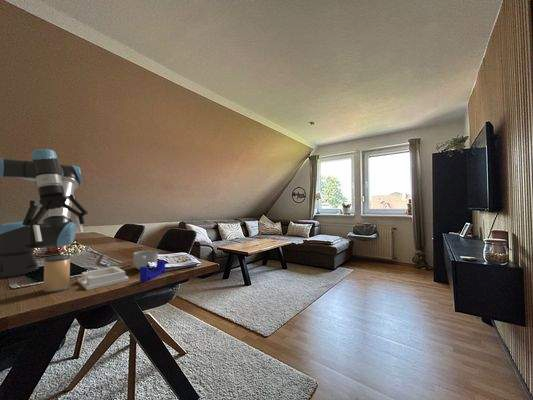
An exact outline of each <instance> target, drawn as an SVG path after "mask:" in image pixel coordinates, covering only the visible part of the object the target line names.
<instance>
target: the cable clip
mask: <svg viewBox="0 0 533 400" xmlns="http://www.w3.org/2000/svg"><path fill="white" fill-rule="evenodd" d="M155 267H156V268H154V267H153V269H152V268H151V269H149V267H146V266H142V267H140V270H139V271H140V273H139V281H141V282H142V283H143V282H144V283H147V282H150V281H151V280H154V279H155V277H156V278H158V277H160V276H162V275H163V274H162V273H164V272H165V273H166V260H162V259H160V260H157V263H156V265H155ZM165 273H164V274H165ZM161 274H162V275H161ZM159 275H160V276H159ZM157 276H158V277H157ZM153 278H154V279H153Z"/></svg>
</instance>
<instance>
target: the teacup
mask: <svg viewBox="0 0 533 400" xmlns="http://www.w3.org/2000/svg"><path fill="white" fill-rule="evenodd" d="M158 254H159V252H158V251H157V250H155V251H154V250H140V251H135V252H133V257H132V258H133V259H132V264H133V267H134V268H136V269H137V270H139V271H140V267H142V266H147V263H148V262H151V263H152V262H157V261H158V256H159V255H158Z"/></svg>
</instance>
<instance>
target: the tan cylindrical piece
mask: <svg viewBox="0 0 533 400" xmlns="http://www.w3.org/2000/svg"><path fill="white" fill-rule="evenodd" d="M43 262H44V263H43V293H44V294H49V295H50V294H56V293H61V292H64V291H67V290H69V289H70V276H71V271H70V270H71V254H70V255H69V254H63V255H62V254H60V255H52V256H51V255H50V256H47V257H44V259H43Z"/></svg>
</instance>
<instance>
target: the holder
mask: <svg viewBox="0 0 533 400" xmlns="http://www.w3.org/2000/svg"><path fill="white" fill-rule="evenodd" d="M126 273H127V272H126V271H125V270H123V269H121V268H119V267H118V266H111V267H105V268H104V267H103V268H99V269H94V270H89V271H83V272H81V277H79V278H77V282H78V284H79V285H80V286H82V287H83V288H84V289H85V290H86V291H89V290H90V291H91V290H93V289H98V288H103V287H107V286H111V285H112V286H113V285H115V284H120V283H124V282H128V281H129V280H130V277H129V276H128V275H126Z"/></svg>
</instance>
